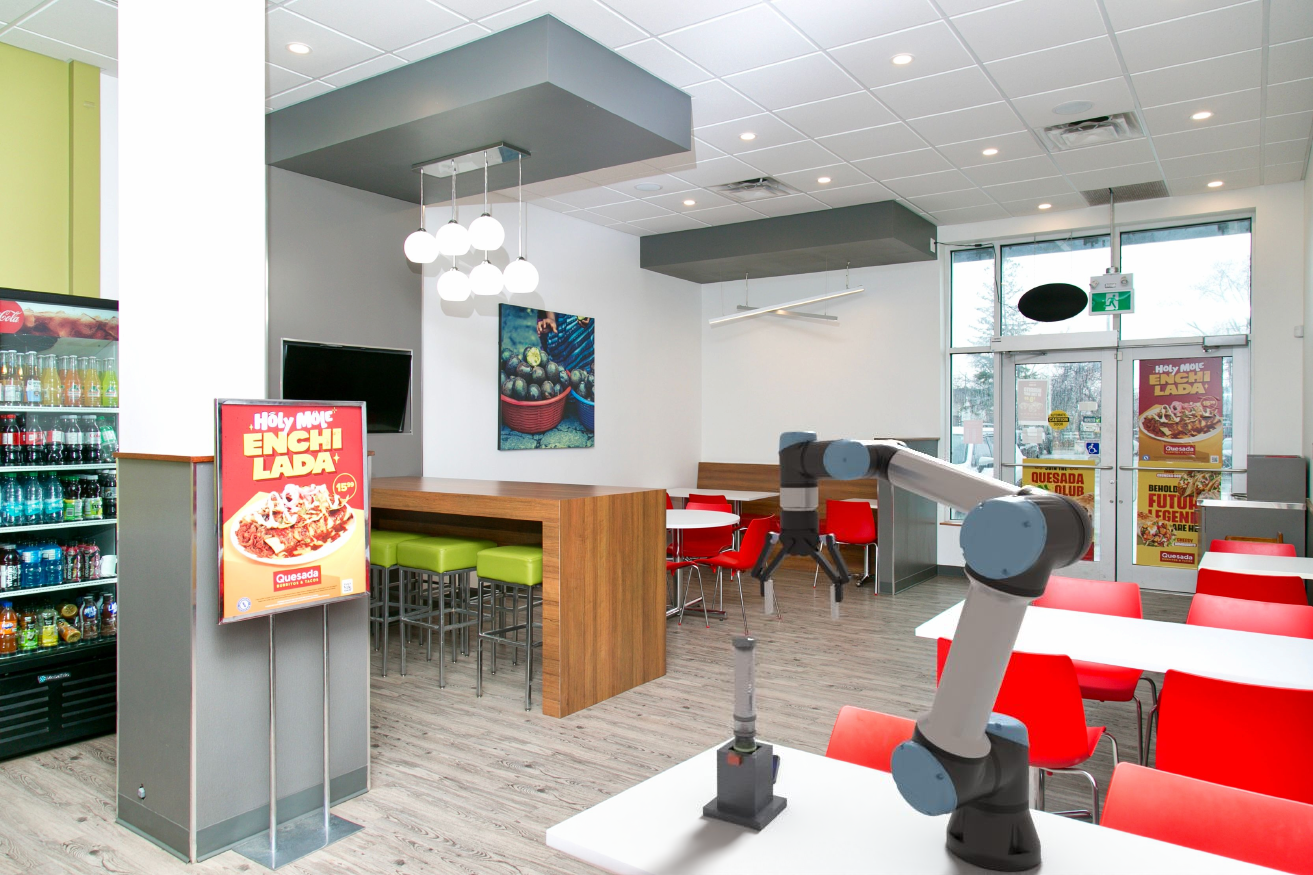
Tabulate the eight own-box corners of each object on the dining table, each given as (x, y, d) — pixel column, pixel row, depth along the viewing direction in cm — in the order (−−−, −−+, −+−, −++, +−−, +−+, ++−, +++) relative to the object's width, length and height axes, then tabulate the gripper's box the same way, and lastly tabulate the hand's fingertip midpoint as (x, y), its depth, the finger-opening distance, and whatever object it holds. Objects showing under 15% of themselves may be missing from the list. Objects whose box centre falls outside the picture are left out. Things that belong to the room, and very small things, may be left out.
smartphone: (740, 778, 169) (747, 752, 184) (740, 783, 169) (747, 756, 184) (775, 781, 168) (780, 754, 182) (776, 786, 168) (780, 758, 182)
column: (761, 757, 157) (761, 637, 157) (750, 765, 153) (750, 642, 153) (739, 752, 159) (738, 634, 159) (728, 760, 155) (727, 639, 155)
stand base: (786, 805, 158) (786, 743, 158) (760, 830, 148) (760, 764, 148) (731, 791, 164) (731, 732, 164) (702, 814, 154) (702, 751, 154)
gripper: (866, 508, 159) (869, 617, 158) (748, 506, 171) (750, 608, 170) (856, 511, 152) (858, 624, 152) (734, 508, 164) (735, 614, 164)
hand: (801, 616), depth 161 cm, fingers open, 13 cm apart
